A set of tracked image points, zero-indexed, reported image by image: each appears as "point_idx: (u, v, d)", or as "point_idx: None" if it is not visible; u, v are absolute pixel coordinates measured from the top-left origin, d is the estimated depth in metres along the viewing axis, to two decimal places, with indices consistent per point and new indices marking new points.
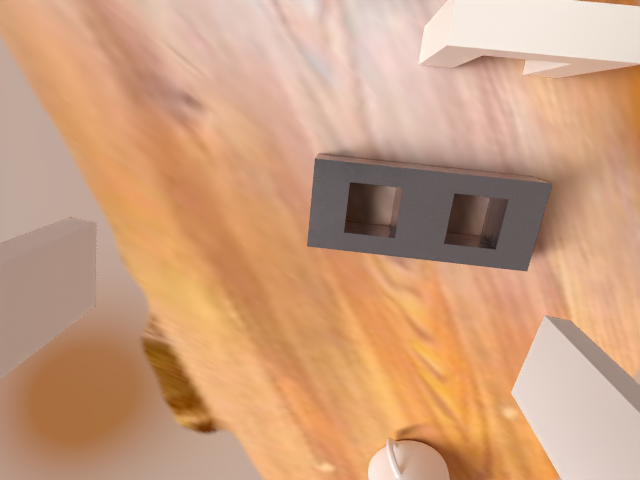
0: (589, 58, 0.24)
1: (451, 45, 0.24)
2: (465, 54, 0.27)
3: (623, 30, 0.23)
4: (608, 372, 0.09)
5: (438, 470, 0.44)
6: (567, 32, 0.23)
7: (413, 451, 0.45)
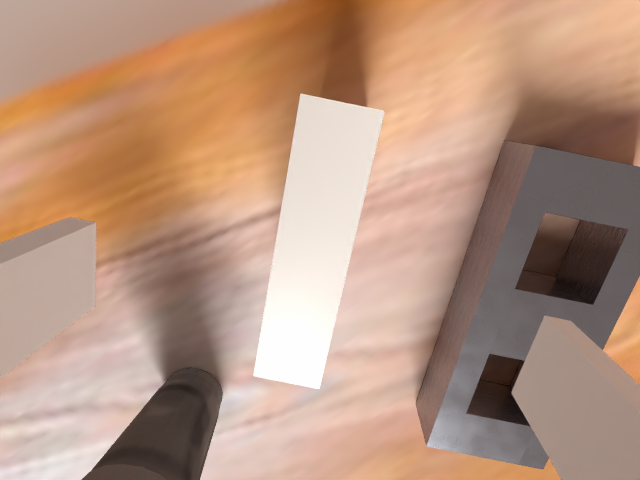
0: (362, 199, 0.15)
1: (320, 382, 0.17)
2: None
3: (327, 153, 0.14)
4: (608, 372, 0.09)
5: None
6: (321, 236, 0.15)
7: None
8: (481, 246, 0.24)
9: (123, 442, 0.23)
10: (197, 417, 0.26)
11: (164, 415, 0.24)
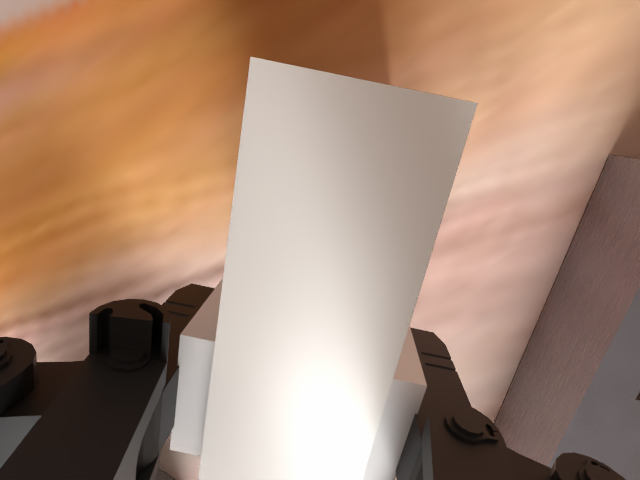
0: (408, 316, 0.06)
1: None
2: None
3: (323, 211, 0.06)
4: None
5: None
6: (309, 392, 0.07)
7: None
8: (571, 321, 0.15)
9: None
10: None
11: None
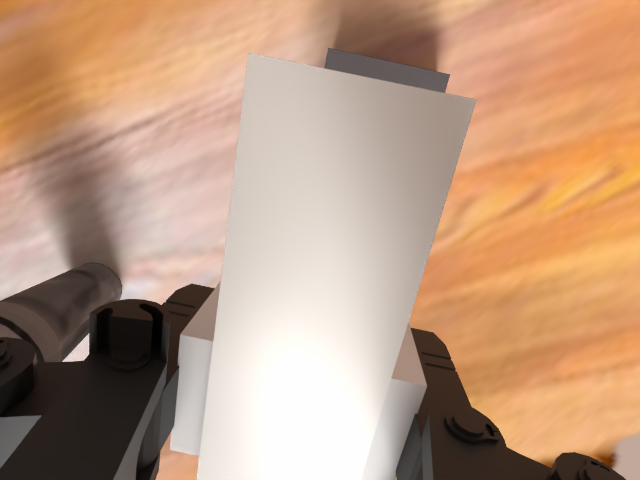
0: (407, 314, 0.06)
1: None
2: None
3: (322, 208, 0.06)
4: None
5: None
6: (308, 389, 0.07)
7: None
8: None
9: (13, 296, 0.28)
10: (85, 290, 0.31)
11: (54, 283, 0.30)
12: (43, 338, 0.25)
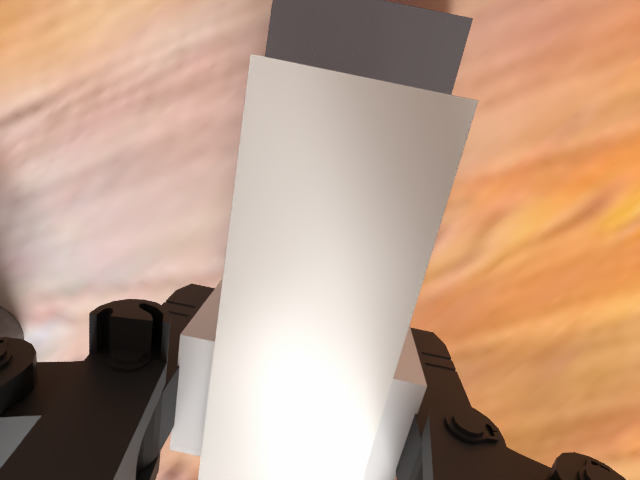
0: (408, 315, 0.06)
1: None
2: None
3: (324, 208, 0.06)
4: None
5: None
6: (309, 390, 0.07)
7: None
8: None
9: None
10: None
11: None
12: None
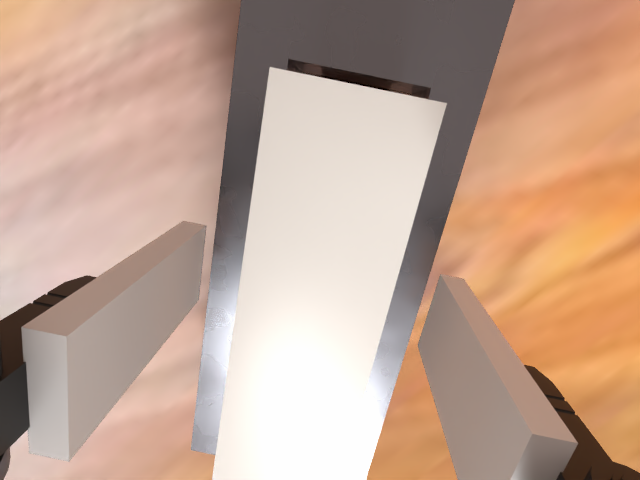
0: (395, 277, 0.08)
1: None
2: None
3: (327, 189, 0.07)
4: (471, 313, 0.10)
5: None
6: (314, 341, 0.08)
7: None
8: None
9: None
10: None
11: None
12: None
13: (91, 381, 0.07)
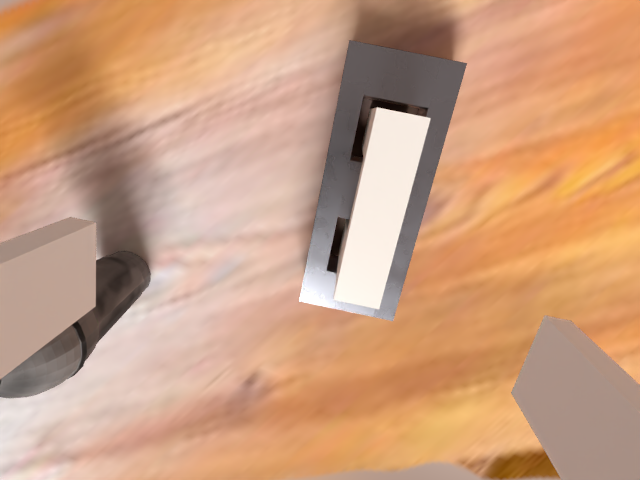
0: (414, 176, 0.22)
1: (379, 304, 0.25)
2: None
3: (392, 145, 0.22)
4: (608, 372, 0.09)
5: None
6: (385, 200, 0.23)
7: None
8: None
9: None
10: (118, 275, 0.33)
11: None
12: (83, 317, 0.27)
13: None
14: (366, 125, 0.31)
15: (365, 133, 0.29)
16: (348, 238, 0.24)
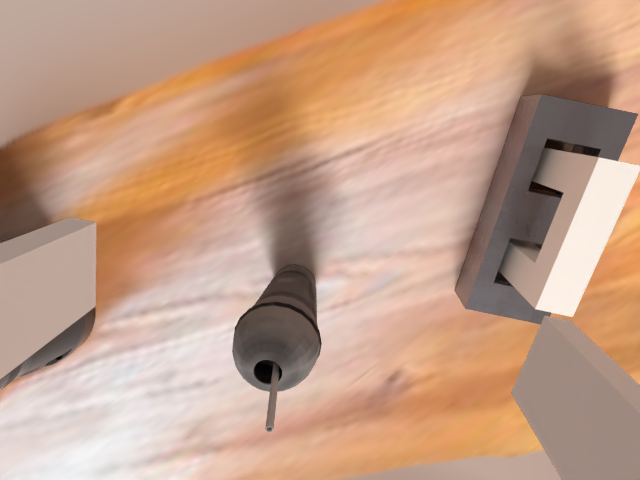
0: (619, 210, 0.28)
1: (573, 313, 0.31)
2: None
3: (606, 187, 0.27)
4: (608, 372, 0.09)
5: None
6: (593, 230, 0.28)
7: None
8: (505, 167, 0.36)
9: (271, 291, 0.35)
10: (309, 287, 0.38)
11: (291, 281, 0.37)
12: (315, 324, 0.32)
13: None
14: None
15: None
16: (557, 259, 0.29)
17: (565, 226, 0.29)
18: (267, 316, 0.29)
